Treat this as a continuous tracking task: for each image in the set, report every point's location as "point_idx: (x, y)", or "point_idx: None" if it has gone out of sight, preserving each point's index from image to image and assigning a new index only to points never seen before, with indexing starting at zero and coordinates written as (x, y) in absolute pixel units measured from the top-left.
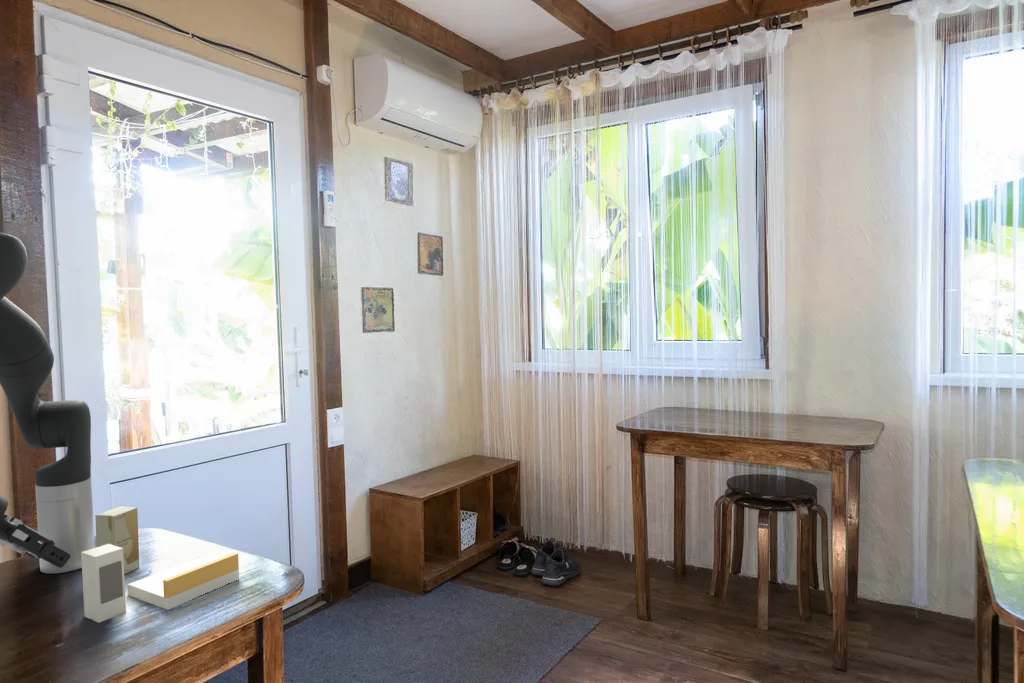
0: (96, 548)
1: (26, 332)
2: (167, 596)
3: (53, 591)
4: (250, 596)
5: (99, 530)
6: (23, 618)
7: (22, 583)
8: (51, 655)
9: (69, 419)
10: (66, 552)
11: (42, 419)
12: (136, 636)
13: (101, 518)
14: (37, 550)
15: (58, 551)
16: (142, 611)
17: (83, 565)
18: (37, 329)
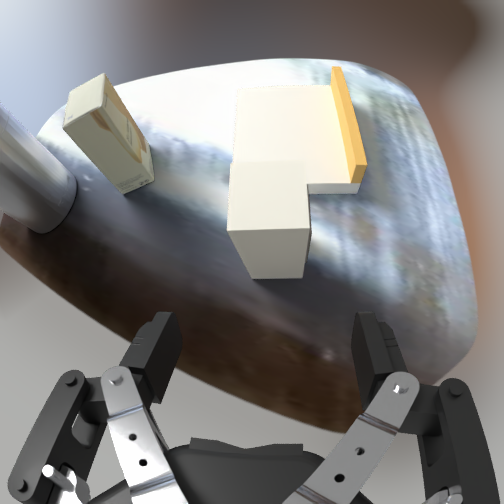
0: (237, 195)
1: None
2: (361, 181)
3: (104, 255)
4: (404, 121)
5: (86, 143)
6: None
7: (46, 265)
8: (354, 379)
9: None
10: (376, 321)
11: None
12: (408, 269)
13: (78, 124)
14: (407, 430)
15: (400, 355)
16: (324, 216)
17: (241, 244)
18: None
